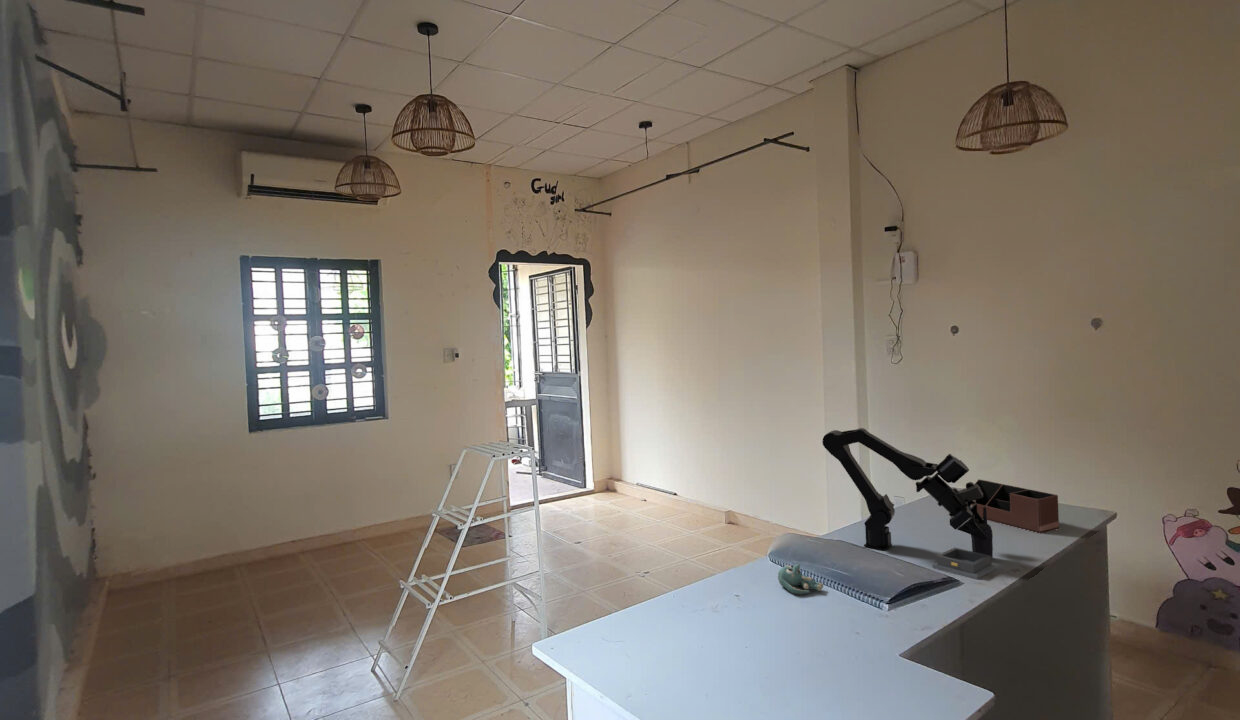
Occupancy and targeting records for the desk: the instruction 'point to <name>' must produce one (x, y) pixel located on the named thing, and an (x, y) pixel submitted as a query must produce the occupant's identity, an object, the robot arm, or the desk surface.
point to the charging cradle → (964, 563)
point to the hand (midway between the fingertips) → (987, 534)
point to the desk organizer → (1018, 507)
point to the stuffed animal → (796, 580)
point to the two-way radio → (980, 544)
